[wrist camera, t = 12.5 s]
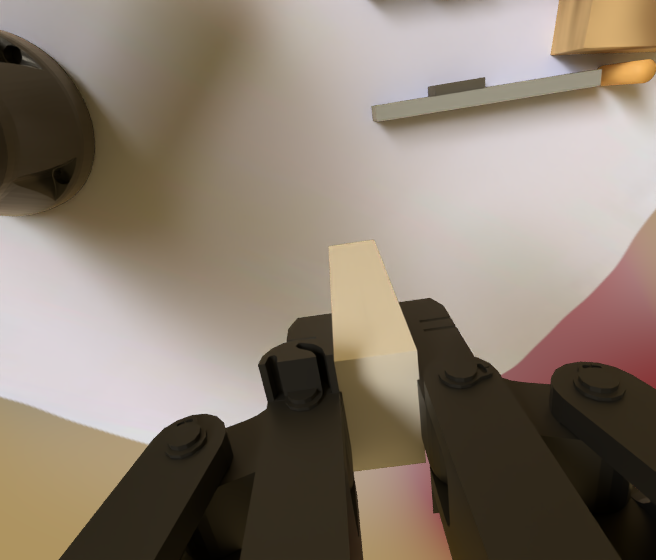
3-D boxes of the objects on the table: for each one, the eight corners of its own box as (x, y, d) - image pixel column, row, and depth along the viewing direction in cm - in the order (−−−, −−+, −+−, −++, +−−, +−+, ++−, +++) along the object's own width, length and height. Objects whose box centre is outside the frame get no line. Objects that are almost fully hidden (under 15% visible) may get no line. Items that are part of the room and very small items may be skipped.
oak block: (549, 55, 35) (583, 47, 30) (563, -31, 32) (602, -53, 28) (655, 51, 35) (705, 44, 30) (676, -35, 32) (735, -58, 28)
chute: (373, 123, 37) (380, 125, 32) (357, -28, 32) (363, -50, 28) (611, 84, 36) (654, 81, 31) (628, -77, 31) (682, -109, 27)
